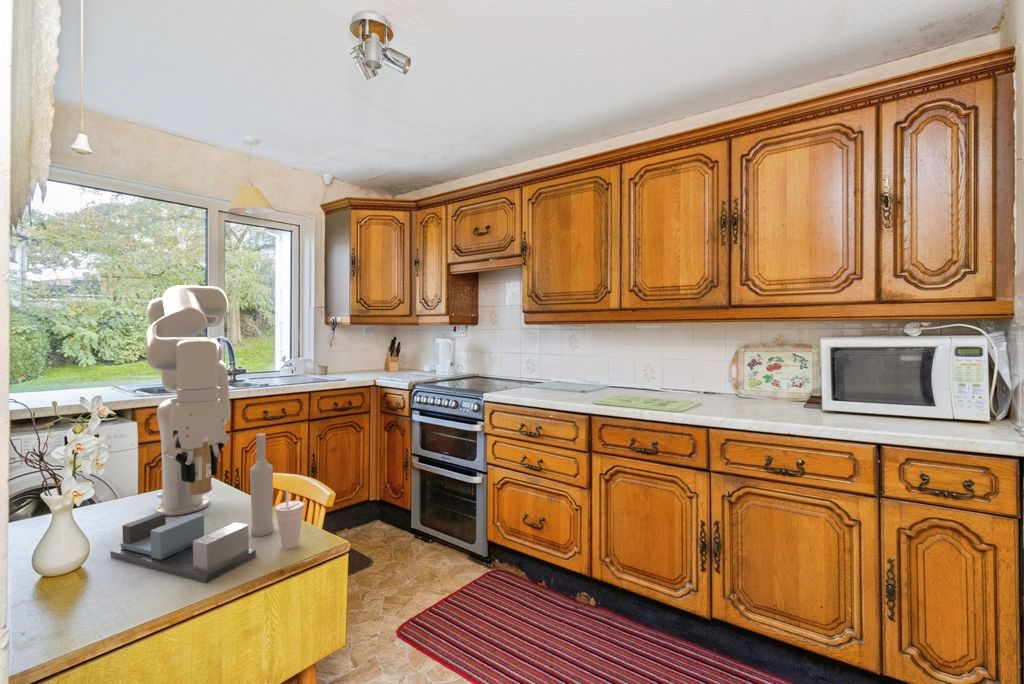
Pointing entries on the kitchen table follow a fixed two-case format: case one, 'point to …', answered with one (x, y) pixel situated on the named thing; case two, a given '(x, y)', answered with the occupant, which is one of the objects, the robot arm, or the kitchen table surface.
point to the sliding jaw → (162, 534)
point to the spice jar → (201, 470)
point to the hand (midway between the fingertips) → (199, 477)
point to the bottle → (261, 491)
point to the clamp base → (179, 563)
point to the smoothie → (289, 522)
